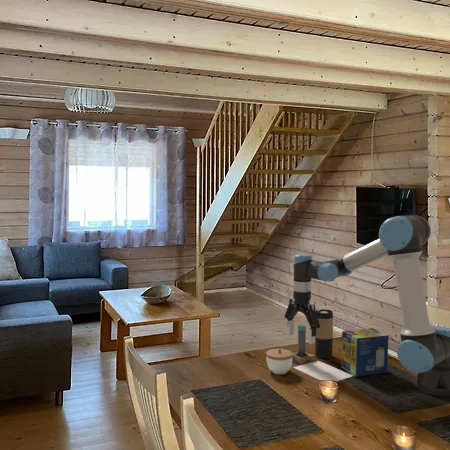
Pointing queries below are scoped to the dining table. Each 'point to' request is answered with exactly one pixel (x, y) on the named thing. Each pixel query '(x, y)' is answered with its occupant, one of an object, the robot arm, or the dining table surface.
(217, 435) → the dining table surface
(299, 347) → the marker
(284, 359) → the lidded jar
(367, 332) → the protein box
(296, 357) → the pen holder
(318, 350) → the travel mug
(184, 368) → the dining table surface
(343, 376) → the paper
